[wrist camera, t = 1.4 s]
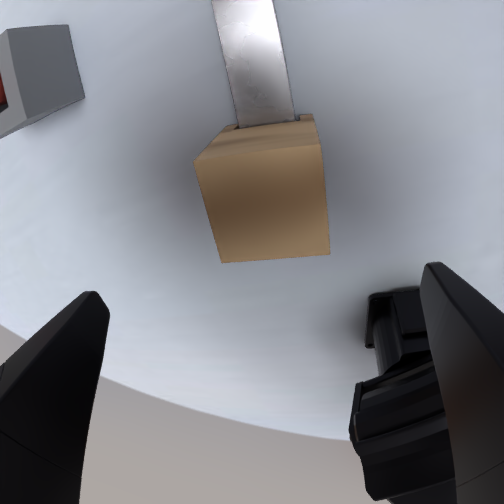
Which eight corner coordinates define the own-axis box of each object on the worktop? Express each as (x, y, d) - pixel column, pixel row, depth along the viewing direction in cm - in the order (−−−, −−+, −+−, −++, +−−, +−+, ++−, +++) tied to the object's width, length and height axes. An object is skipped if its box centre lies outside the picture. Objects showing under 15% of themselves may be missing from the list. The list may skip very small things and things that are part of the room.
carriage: (321, 192, 19) (330, 254, 14) (243, 200, 20) (221, 263, 15) (312, 114, 17) (320, 144, 11) (226, 125, 18) (192, 161, 12)
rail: (308, 210, 21) (309, 234, 18) (263, 215, 21) (258, 238, 19) (261, -46, 12) (255, -62, 9) (210, -35, 12) (195, -49, 10)
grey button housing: (85, 97, 18) (27, 119, 13) (30, 124, 19) (-23, 151, 14) (67, 24, 14) (6, 29, 10) (14, 60, 16) (-42, 76, 11)
